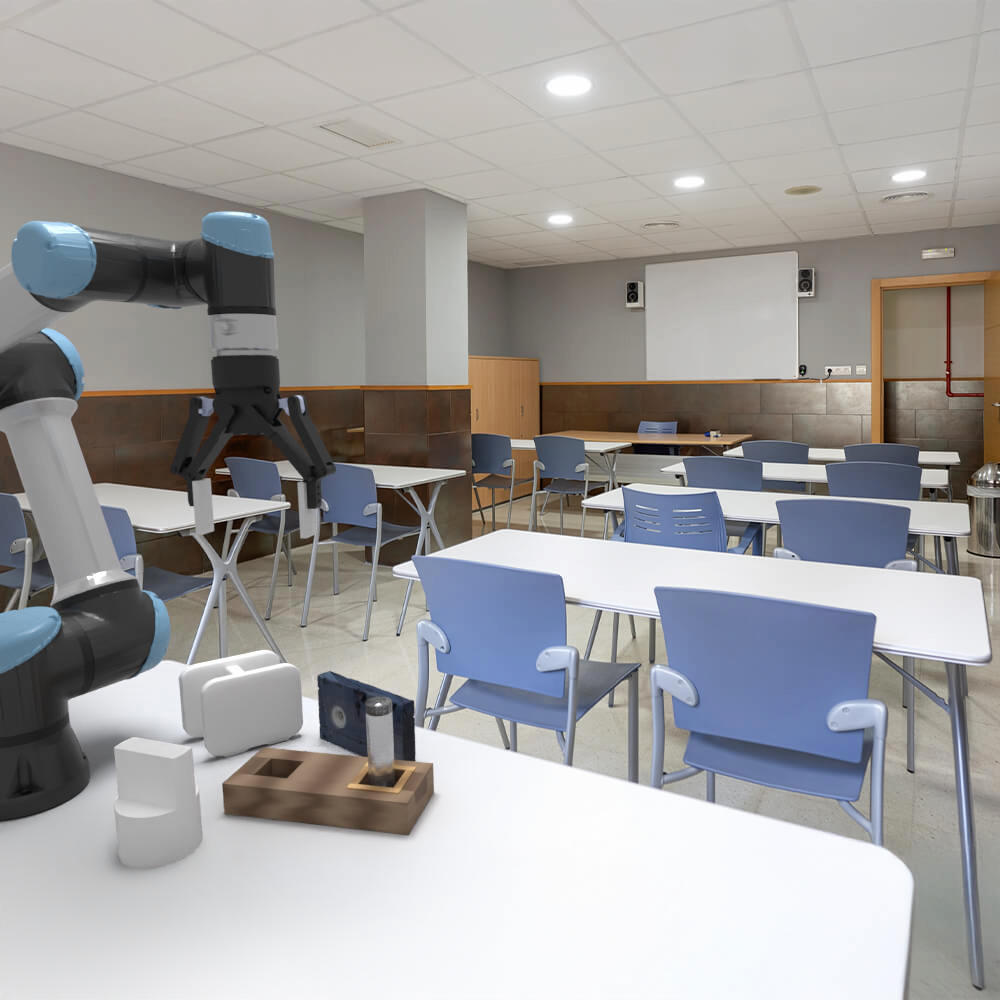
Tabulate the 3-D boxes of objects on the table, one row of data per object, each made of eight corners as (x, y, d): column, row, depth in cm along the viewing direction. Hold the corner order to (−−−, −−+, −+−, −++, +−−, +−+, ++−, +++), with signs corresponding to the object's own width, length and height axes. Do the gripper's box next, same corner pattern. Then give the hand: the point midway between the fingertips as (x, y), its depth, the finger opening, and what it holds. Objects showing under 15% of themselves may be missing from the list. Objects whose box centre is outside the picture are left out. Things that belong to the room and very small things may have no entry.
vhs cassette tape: (417, 768, 111) (415, 699, 110) (401, 777, 109) (398, 706, 107) (335, 732, 123) (332, 669, 122) (318, 738, 121) (315, 675, 119)
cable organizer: (202, 765, 113) (196, 686, 111) (182, 739, 121) (176, 665, 120) (304, 737, 121) (300, 663, 120) (279, 714, 130) (275, 644, 128)
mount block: (224, 813, 100) (222, 781, 100) (264, 775, 110) (262, 745, 109) (408, 834, 95) (407, 801, 94) (434, 792, 104) (433, 761, 104)
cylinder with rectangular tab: (100, 859, 91) (90, 759, 89) (159, 818, 99) (151, 726, 98) (164, 875, 88) (155, 771, 86) (219, 831, 96) (212, 736, 94)
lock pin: (366, 813, 100) (361, 705, 97) (375, 800, 103) (371, 695, 101) (390, 816, 99) (386, 707, 97) (399, 803, 102) (395, 697, 100)
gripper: (129, 355, 93) (144, 537, 96) (331, 350, 87) (340, 543, 90) (169, 357, 100) (182, 526, 103) (358, 352, 94) (366, 531, 98)
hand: (256, 534), depth 97 cm, fingers open, 13 cm apart
